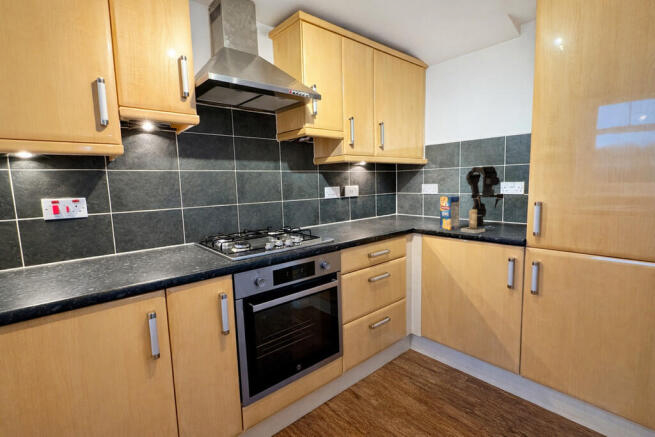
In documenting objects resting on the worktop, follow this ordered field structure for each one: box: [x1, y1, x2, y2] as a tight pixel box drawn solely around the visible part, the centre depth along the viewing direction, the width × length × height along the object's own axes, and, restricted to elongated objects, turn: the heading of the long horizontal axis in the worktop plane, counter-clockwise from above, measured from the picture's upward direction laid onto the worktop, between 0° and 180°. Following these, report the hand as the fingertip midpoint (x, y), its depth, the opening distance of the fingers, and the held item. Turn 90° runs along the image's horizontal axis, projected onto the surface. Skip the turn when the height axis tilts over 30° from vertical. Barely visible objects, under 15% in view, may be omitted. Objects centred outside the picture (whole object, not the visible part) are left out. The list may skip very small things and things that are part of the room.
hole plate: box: [460, 226, 486, 234], centre depth 193 cm, size 10×10×2 cm
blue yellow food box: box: [439, 195, 461, 231], centre depth 206 cm, size 7×11×22 cm, turn 16°
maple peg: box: [468, 208, 478, 229], centre depth 193 cm, size 4×4×14 cm
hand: (486, 209), depth 202 cm, fingers open, 9 cm apart
